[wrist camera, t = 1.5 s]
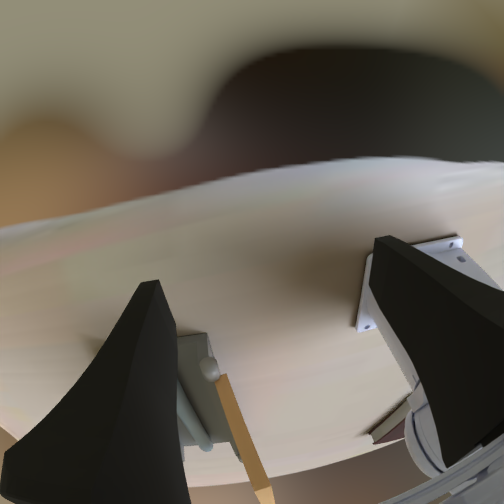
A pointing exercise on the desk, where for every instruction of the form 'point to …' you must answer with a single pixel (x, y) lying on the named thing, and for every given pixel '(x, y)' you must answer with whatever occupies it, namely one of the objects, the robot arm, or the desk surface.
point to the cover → (244, 442)
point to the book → (391, 425)
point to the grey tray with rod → (200, 397)
